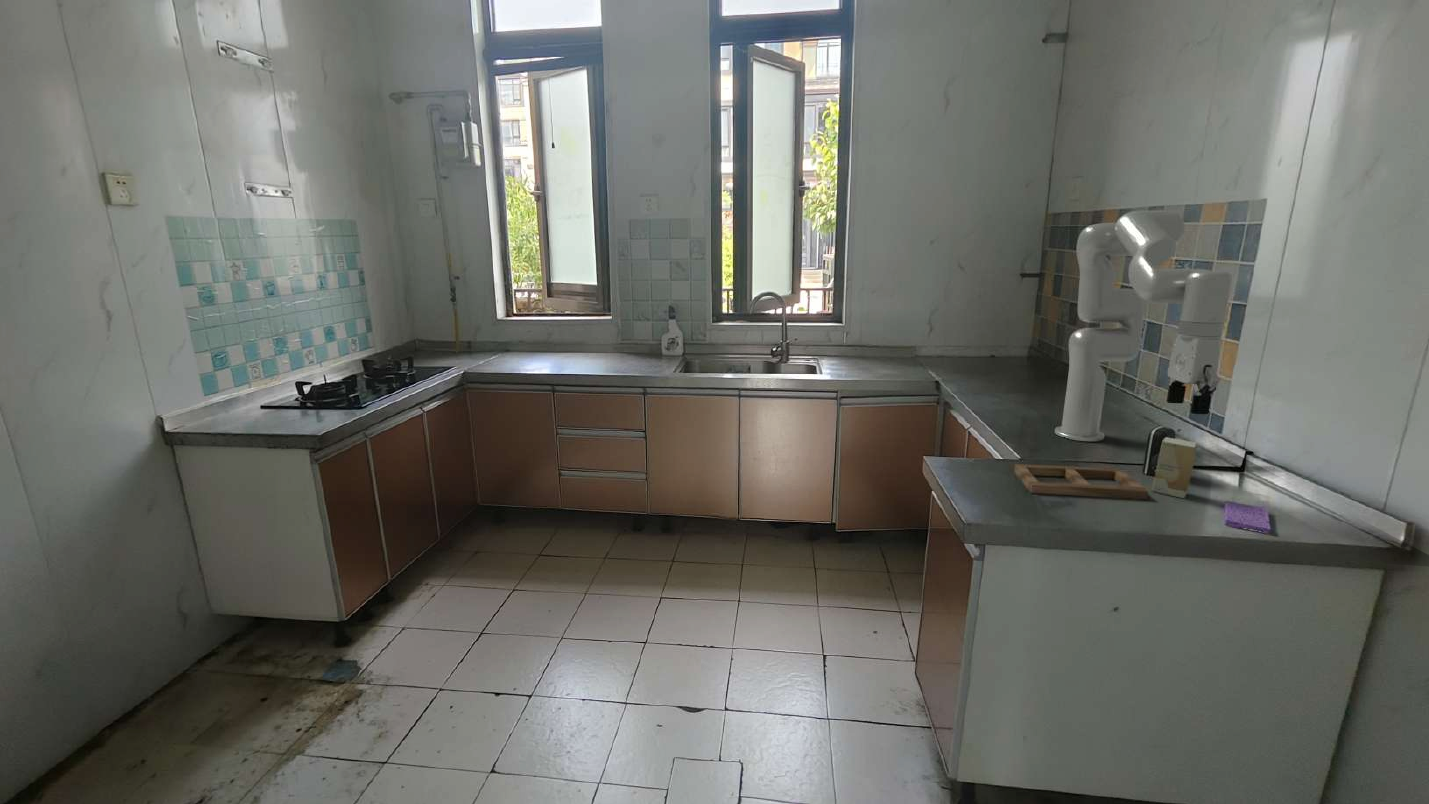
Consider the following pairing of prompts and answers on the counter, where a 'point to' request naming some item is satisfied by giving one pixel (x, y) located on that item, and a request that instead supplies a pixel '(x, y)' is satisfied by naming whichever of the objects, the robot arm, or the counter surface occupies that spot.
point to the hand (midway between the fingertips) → (1186, 408)
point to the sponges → (1246, 516)
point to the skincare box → (1174, 467)
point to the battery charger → (1155, 448)
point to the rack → (1079, 481)
